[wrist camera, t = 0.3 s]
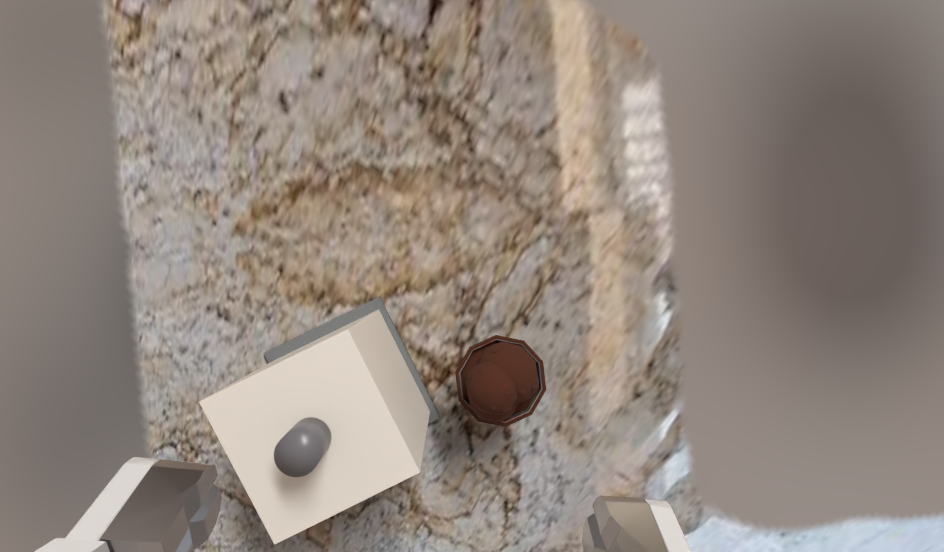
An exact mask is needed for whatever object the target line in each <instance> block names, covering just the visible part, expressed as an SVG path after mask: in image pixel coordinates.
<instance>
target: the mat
mask: <svg viewBox="0 0 944 552" xmlns="http://www.w3.org/2000/svg"><path fill="white" fill-rule="evenodd" d="M378 309H379V311H380V313H381V315H382V317H383V319H384V321H385V323H386V325H387V327H388V329H389V331H390V333H391V335H392V337H393V339H394V341H395V343H396V345H397V347H398V349H399V351H400V353H401V355H402V357H403V359H404V361H405V363H406V365H407V367H408V369H409V371H410V373H411V375H412V377H413V379H414V381H415V383H416V385H417V387H418V389H419V391H420V393H421V394H422V396H423V398H424V400H425V402H426V404H427V406H428V408H429V410H430V415H429V421H428V424H430V423H432V422H434V421H436V420H438V419H440V416H439V414H438V412H437V410H436V408H435V406H434V404H433V402H432V400H431V398H430V396H429V394H428V392H427V390H426V388H425V386H424V384H423V382H422V380H421V378H420V376H419V374H418V372H417V370H416V368H415V366H414V364H413V362H412V360H411V358H410V356H409V354H408V352H407V350H406V348H405V346H404V344H403V342H402V340H401V338H400V336H399V334H398V332H397V330H396V328H395V326H394V324H393V322H392V320H391V318H390V316H389V314H388V312H387V310H386V308H385V306H384V304H383V302H382V300H381V298H380V297H378V298H376V299H374V300H372V301H370V302H368V303H366V304H364V305H362V306H360V307H358V308H356V309H353V310H351V311H349V312H347V313H345V314H343V315H341V316H339V317H337V318H335V319H333V320H331V321H329V322H327V323H325V324H323V325H321V326H319V327H317V328H314V329H312V330H310V331H308V332H306V333H304V334H302V335H300V336H298V337H296V338H294V339H292V340H290V341H288V342H286V343H284V344H282V345H280V346H278V347H276V348H273V349H271V350H269V351H267V352H265V353H263V354H264V355H265V357H266V359H267V361H268V363H270V362H272V361H274V360H276V359H278V358H280V357H282V356H284V355H286V354H288V353H290V352H292V351H294V350H296V349H298V348H300V347H302V346H305V345H307V344H309V343H311V342H313V341H315V340H317V339H319V338H321V337H323V336H325V335H327V334H329V333H331V332H333V331H335V330H337V329H339V328H341V327H343V326H345V325H348V324H350V323H352V322H354V321H356V320H358V319H360V318H362V317H364V316H366V315H368V314H370V313H372V312H374V311H376V310H378Z"/></svg>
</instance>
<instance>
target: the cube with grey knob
mask: <svg viewBox="0 0 944 552" xmlns="http://www.w3.org/2000/svg"><path fill="white" fill-rule="evenodd" d="M199 403H200V405H201V407H202V408H203V410H204V412H205V414H206V416H207V418H208V420H209V422H210V424H211V425H212V427H213V429H214V431H215V433H216V435H217V437H218V439H219V441H220V443H221V444H222V446H223V448H224V450H225V452H226V454H227V456H228V458H229V460H230V461H231V463H232V465H233V467H234V469H235V471H236V473H237V475H238V477H239V478H240V480H241V482H242V484H243V486H244V488H245V490H246V492H247V494H248V495H249V497H250V499H251V501H252V503H253V505H254V507H255V509H256V511H257V513H258V514H259V516H260V518H261V520H262V522H263V524H264V526H265V528H266V530H267V531H268V533H269V535H270V537H271V539H272V541H273V543H274V545H275V544H277V543H279V542H281V541H283V540H285V539H287V538H289V537H291V536H293V535H295V534H297V533H299V532H301V531H303V530H305V529H307V528H309V527H311V526H313V525H315V524H317V523H319V522H321V521H323V520H325V519H327V518H329V517H331V516H333V515H335V514H337V513H339V512H341V511H343V510H345V509H347V508H349V507H351V506H353V505H355V504H357V503H359V502H361V501H363V500H365V499H367V498H369V497H371V496H373V495H375V494H377V493H379V492H381V491H383V490H385V489H388V488H390V487H392V486H394V485H396V484H398V483H400V482H402V481H404V480H406V479H408V478H410V477H412V476H414V475H416V474H418V473H420V470H421V464H422V458H423V452H424V445H425V439H426V433H427V427H428V421H429V415H430V410H429V408H428V406H427V404H426V402H425V400H424V398H423V396H422V394H421V393H420V391H419V389H418V387H417V385H416V383H415V381H414V379H413V377H412V375H411V373H410V371H409V369H408V367H407V365H406V363H405V361H404V359H403V357H402V355H401V353H400V351H399V349H398V347H397V345H396V343H395V341H394V339H393V337H392V335H391V333H390V331H389V329H388V327H387V325H386V323H385V321H384V319H383V317H382V315H381V313H380V311H379V309H378V310H376V311H374V312H372V313H370V314H368V315H366V316H364V317H362V318H360V319H358V320H356V321H354V322H352V323H350V324H348V325H345V326H343V327H341V328H339V329H337V330H335V331H333V332H331V333H329V334H327V335H325V336H323V337H321V338H319V339H317V340H315V341H313V342H311V343H309V344H307V345H305V346H302V347H300V348H298V349H296V350H294V351H292V352H290V353H288V354H286V355H284V356H282V357H280V358H278V359H276V360H274V361H272V362H270V363H268V364H267V365H265V366H263V367H261V368H259V369H257V370H256V371H254V372H252V373H250V374H248V375H247V376H245V377H243V378H241V379H239V380H237V381H236V382H234V383H232V384H230V385H228V386H227V387H225V388H223V389H221V390H219V391H218V392H216V393H214V394H212V395H210V396H208V397H207V398H205V399H203V400H201V401H199Z"/></svg>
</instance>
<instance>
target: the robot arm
mask: <svg viewBox="0 0 944 552" xmlns="http://www.w3.org/2000/svg"><path fill="white" fill-rule="evenodd" d="M217 476H218V475H217V471H216V467H215V465H211V464H201V463H191V462H181V461H171V460H162V459H151V458H139V457H133V458H132V459H130V460H129V461H128V462H126V463H125V464H124V465H123V466H122V467H121V468H120V469H119V471H118V472H117V473H116V475H115V476H114V477H113V478H112V480H111V481H110V482H109V483H108V485H107V486H106V487H105V489H104V490H103V491H102V492H101V493H100V495H99V496H98V497H97V499H96V500H95V501H94V502H93V504H92V505H91V506H90V508H89V509H88V510H87V511H86V512H85V514H84V515H83V516H82V518H81V519H80V520H79V521H78V523H77V524H76V525H75V526H74V528H73V529H72V530H71V531H70V533H69V534H68V535H67V537H66V538H55V539H54V540H52V541H51V542H49V543H47V544H46V545H44V546H43V547H41V548H39V549H38V550H36V551H34V552H194V550H195V549H196V548H197V547H199V546H200V545H201V544H203V543H204V542H205V541H206V540H208V539H209V537H210V534H211V532H212V530H213V528H214V526H215V524H216V521H217V517H218V514H219V511H220V505H221V493H220V489H219V488H217V487H216V486H215V485H214V484H213V483H214V481H215V479H216V478H217ZM593 508H594V512H595V513H594V514H593V515H591V516H589V517H588V518H587V519H586V522H585V524H584V527H583V537H582V543H583V552H691V550H690V547H689V545H688V543H687V541H686V539H685V537H684V534H683V532H682V530H681V528H680V526H679V524H678V521H677V519H676V517H675V515H674V513H673V510H672V508H671V506H670V505H669V504H668V503H667V502H666V501H662V500H648V499H641V498H630V497H614V496H599V497H597V498H596V499H595V502H594V504H593Z"/></svg>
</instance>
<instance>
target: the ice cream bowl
mask: <svg viewBox="0 0 944 552" xmlns="http://www.w3.org/2000/svg"><path fill="white" fill-rule="evenodd" d="M456 381H457V390H458V399H459V401H460V402H461V403H462V405H463V406H464V407H465V408H466V409H467V410H468V411H469V412H470V413H471V414H472V415H473V416H474V417H475V419H476V420H477V421H480V422H485V423H490V424H495V425H501V426H508V425H510V424H512V423H515V422H517V421H519V420H521V419H523V418H525V417H528V416H530V415H532V413H533V412H534V410H535V408H536V406H537V405H538V403H539V401H540V399H541V398H542V396H543V394H544V392H545V391H546V386H545V376H544V366H543V361H542V360H541V359H540V358H539V357H538V356H537V355H536V354H535V352H534V351H533V350H532V349H531V348H530V347H529V346H528V345H527V344H526V343H525V341H522V340H517V339H512V338H507V337H502V336H497V335H495V336H493V337H491V338H489V339H486V340H484V341H482V342H480V343H478V344H475V345H473V346H471V347H470V348H469V349H468V351H467V353H466V355H465V356H464V358H463V360H462V362H461V363H460V365H459V367H458V369H457V370H456Z"/></svg>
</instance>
